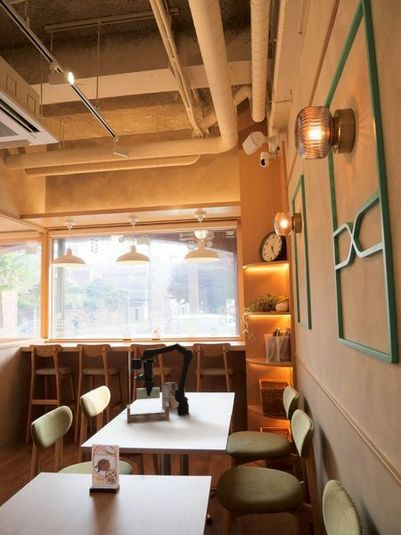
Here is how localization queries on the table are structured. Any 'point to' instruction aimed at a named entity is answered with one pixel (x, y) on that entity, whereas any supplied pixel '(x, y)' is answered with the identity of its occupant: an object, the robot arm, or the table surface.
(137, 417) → the cabinet base
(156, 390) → the door panel
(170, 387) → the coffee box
